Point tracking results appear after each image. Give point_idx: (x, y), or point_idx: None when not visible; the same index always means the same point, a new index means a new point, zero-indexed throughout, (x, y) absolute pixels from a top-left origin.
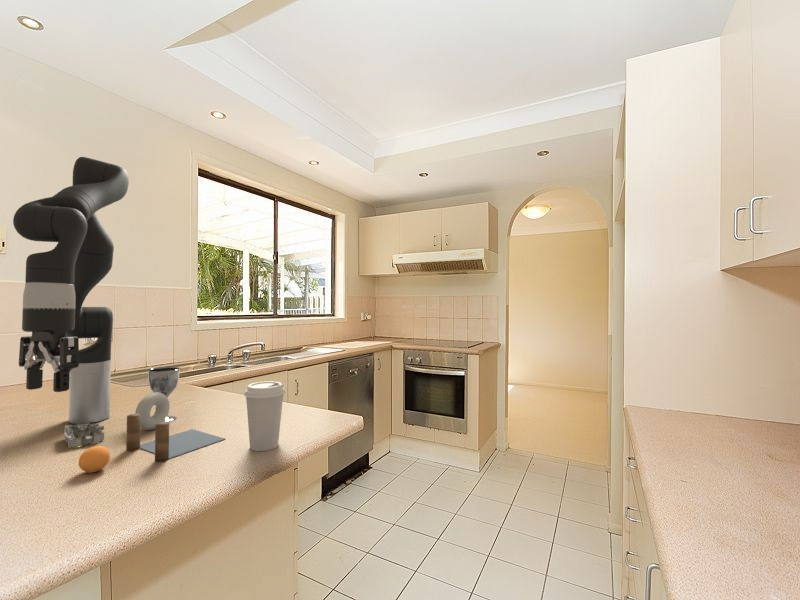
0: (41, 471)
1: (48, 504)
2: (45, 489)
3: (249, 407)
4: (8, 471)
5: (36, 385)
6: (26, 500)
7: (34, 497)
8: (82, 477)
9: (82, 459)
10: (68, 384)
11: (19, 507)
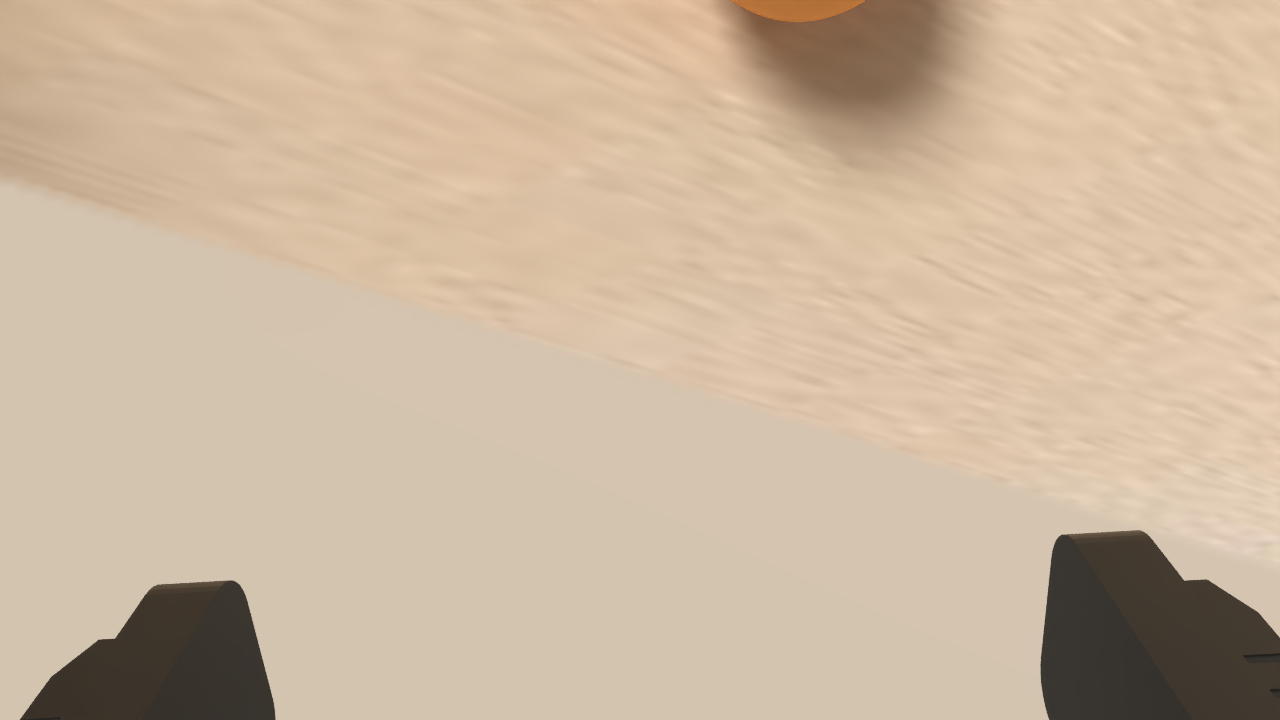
0: (372, 95)
1: (1031, 316)
2: (779, 230)
3: None
4: (141, 211)
5: (230, 681)
6: (841, 349)
7: (842, 312)
8: None
9: (823, 17)
10: (1259, 633)
11: (902, 401)
